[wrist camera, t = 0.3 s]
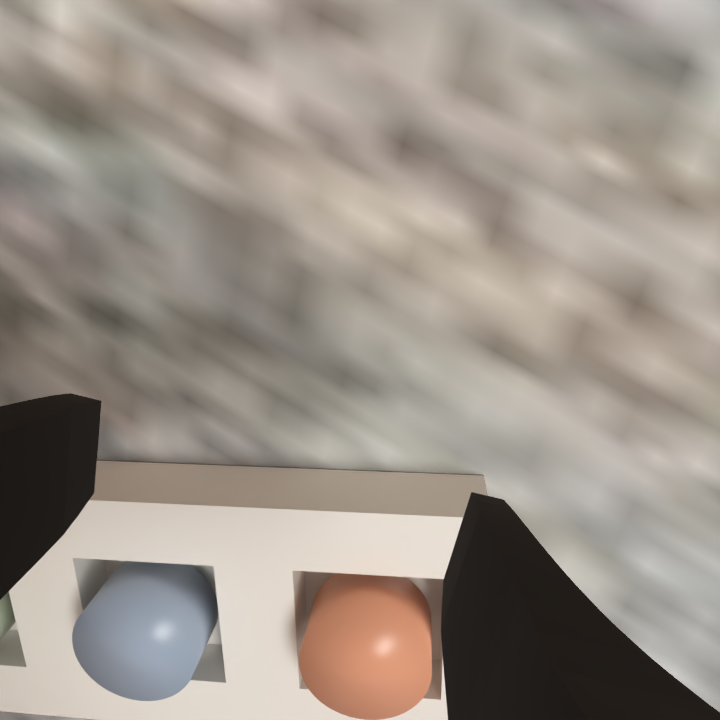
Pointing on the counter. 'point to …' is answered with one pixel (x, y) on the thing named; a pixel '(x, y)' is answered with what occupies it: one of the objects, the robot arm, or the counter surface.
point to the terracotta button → (368, 646)
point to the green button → (6, 615)
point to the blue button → (146, 629)
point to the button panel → (231, 579)
